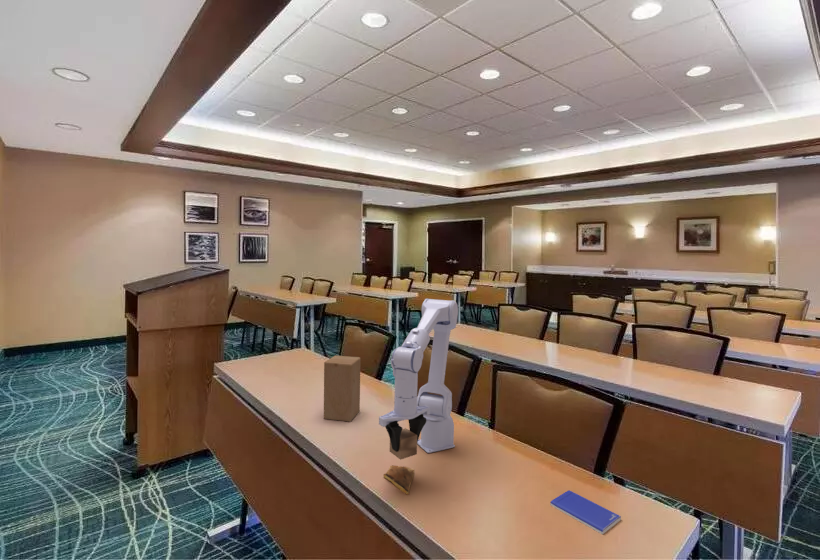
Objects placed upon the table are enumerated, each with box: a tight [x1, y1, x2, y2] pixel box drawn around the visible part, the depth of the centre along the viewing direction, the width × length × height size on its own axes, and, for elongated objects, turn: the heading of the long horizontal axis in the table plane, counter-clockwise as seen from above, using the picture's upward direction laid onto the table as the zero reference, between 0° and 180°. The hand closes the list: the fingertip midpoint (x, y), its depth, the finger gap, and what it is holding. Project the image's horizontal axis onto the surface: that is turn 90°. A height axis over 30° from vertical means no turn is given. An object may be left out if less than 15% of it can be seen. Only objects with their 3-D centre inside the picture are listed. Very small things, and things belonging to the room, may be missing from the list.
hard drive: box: [550, 490, 622, 535], centre depth 93 cm, size 2×8×12 cm
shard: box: [383, 464, 415, 495], centre depth 104 cm, size 11×8×2 cm
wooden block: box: [323, 355, 361, 423], centre depth 144 cm, size 10×10×20 cm
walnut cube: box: [389, 427, 418, 460], centre depth 105 cm, size 5×5×5 cm
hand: (404, 447), depth 104 cm, fingers closed on walnut cube, 5 cm apart
